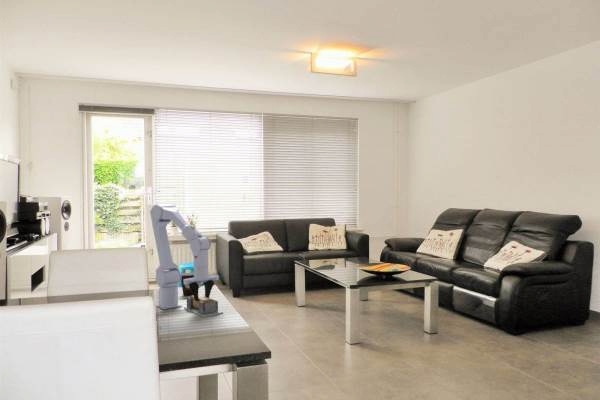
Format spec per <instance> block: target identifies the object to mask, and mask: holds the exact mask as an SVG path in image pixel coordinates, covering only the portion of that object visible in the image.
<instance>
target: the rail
mask: <svg viewBox="0 0 600 400" xmlns="http://www.w3.org/2000/svg"><path fill="white" fill-rule="evenodd" d="M190 297H191V298H192V306H194V307H197V308H199V302H203V303H207V302H214V300H215V299H213V298H210V297H209V298H207V297H205V295H201V294H198V301H195V299H194V295H193V296H190Z"/></svg>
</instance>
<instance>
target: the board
mask: <svg viewBox="0 0 600 400" xmlns="http://www.w3.org/2000/svg"><path fill="white" fill-rule="evenodd" d="M183 310H186V311H189V312H191V313H193V314H195V315H197V316H200V317H202V318H207V317H213V316H218V315H223V314H224V312H223V311H221V310H219V309H218V312H217V313H211V314H205V315H203V314H201V313H199V308H196V309H189V308H187V306H185V307H184V309H183Z"/></svg>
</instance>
